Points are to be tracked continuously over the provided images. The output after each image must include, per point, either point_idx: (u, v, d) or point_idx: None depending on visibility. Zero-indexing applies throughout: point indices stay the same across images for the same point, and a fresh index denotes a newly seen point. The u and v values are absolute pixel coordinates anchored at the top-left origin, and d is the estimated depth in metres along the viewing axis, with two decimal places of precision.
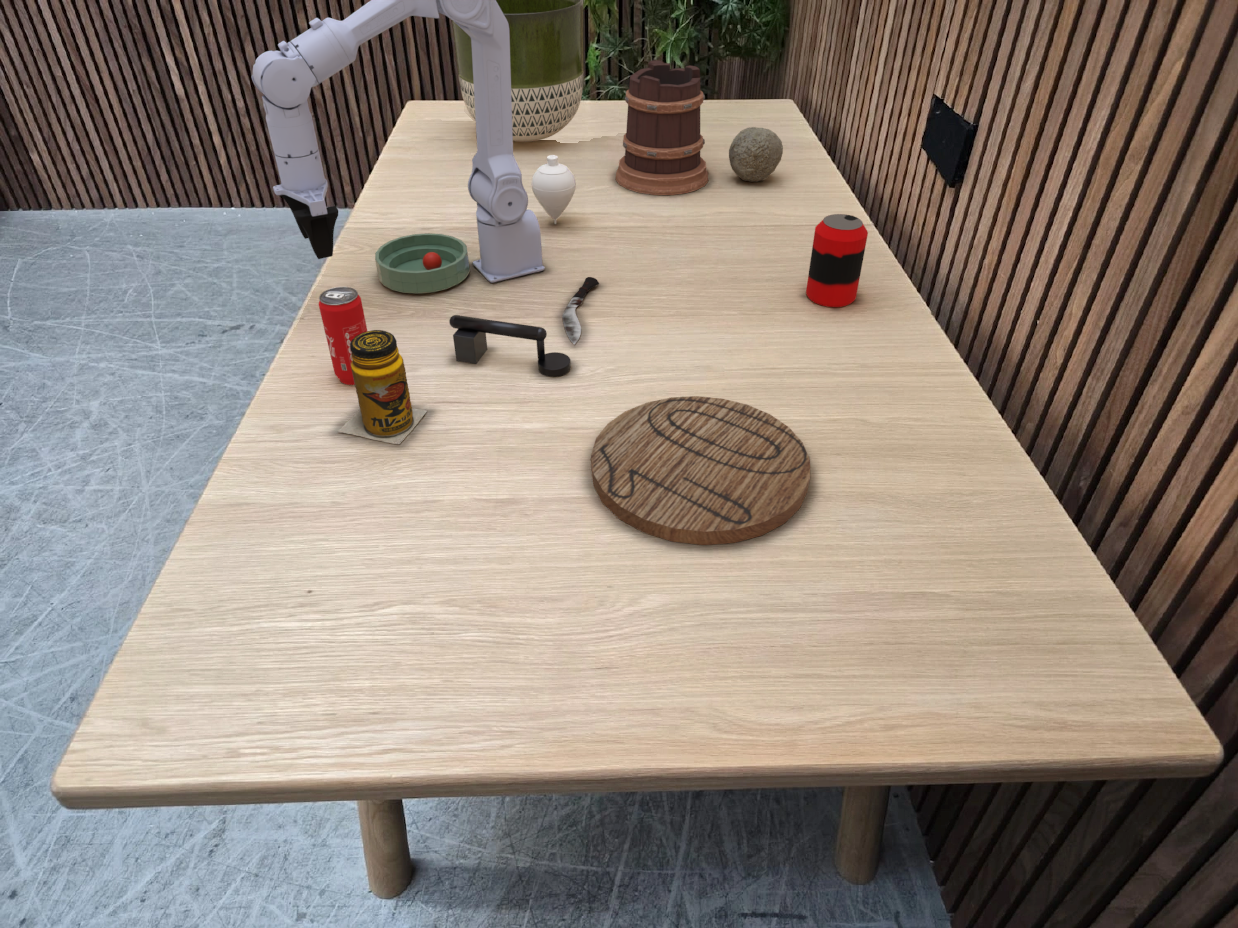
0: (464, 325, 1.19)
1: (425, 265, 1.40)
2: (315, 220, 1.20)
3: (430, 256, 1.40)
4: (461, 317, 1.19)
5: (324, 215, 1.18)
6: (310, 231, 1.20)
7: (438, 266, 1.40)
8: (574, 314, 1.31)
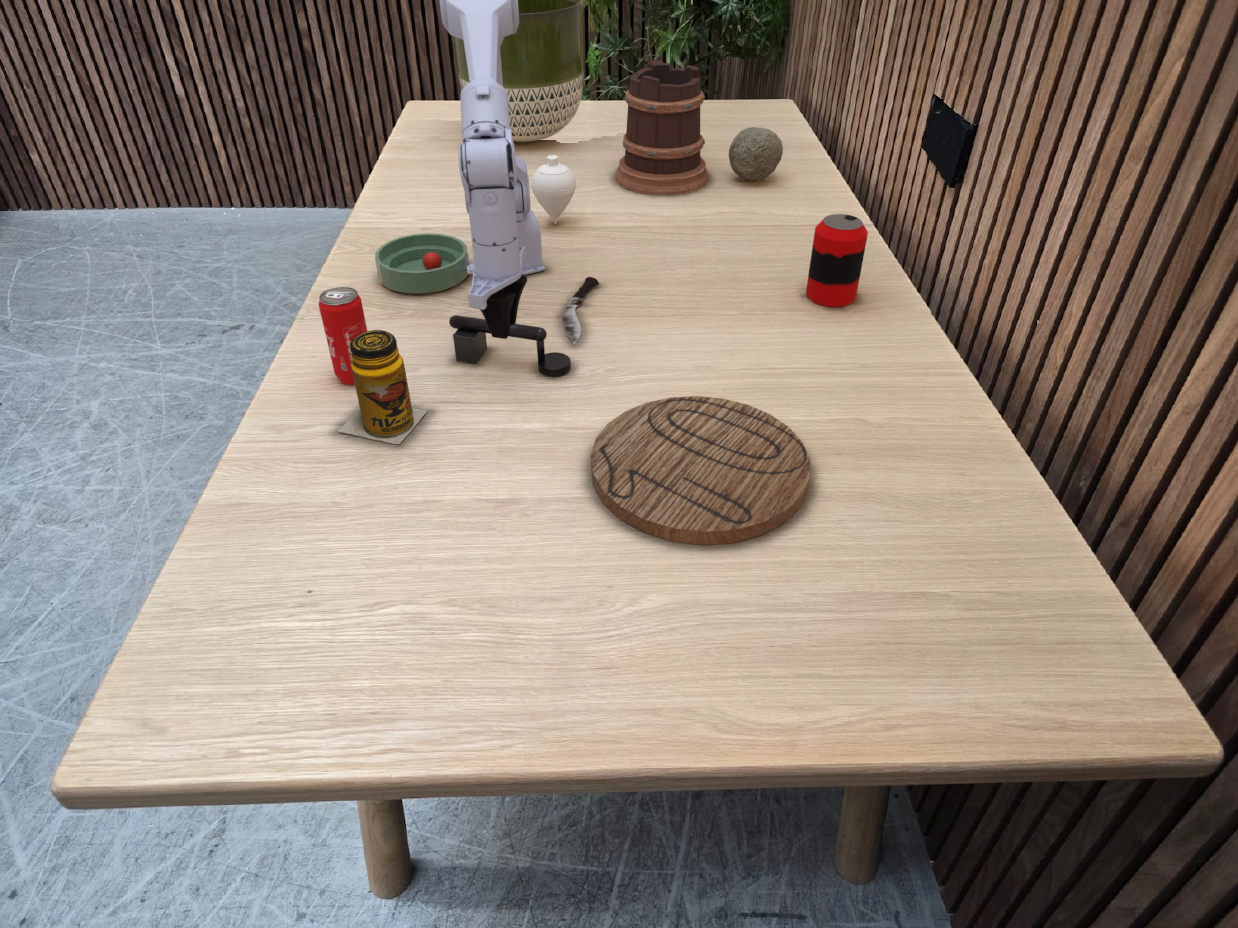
0: (464, 325, 1.19)
1: (425, 265, 1.40)
2: (493, 300, 1.14)
3: (430, 256, 1.40)
4: (461, 317, 1.19)
5: (494, 300, 1.12)
6: (483, 309, 1.14)
7: (438, 266, 1.40)
8: (574, 314, 1.31)
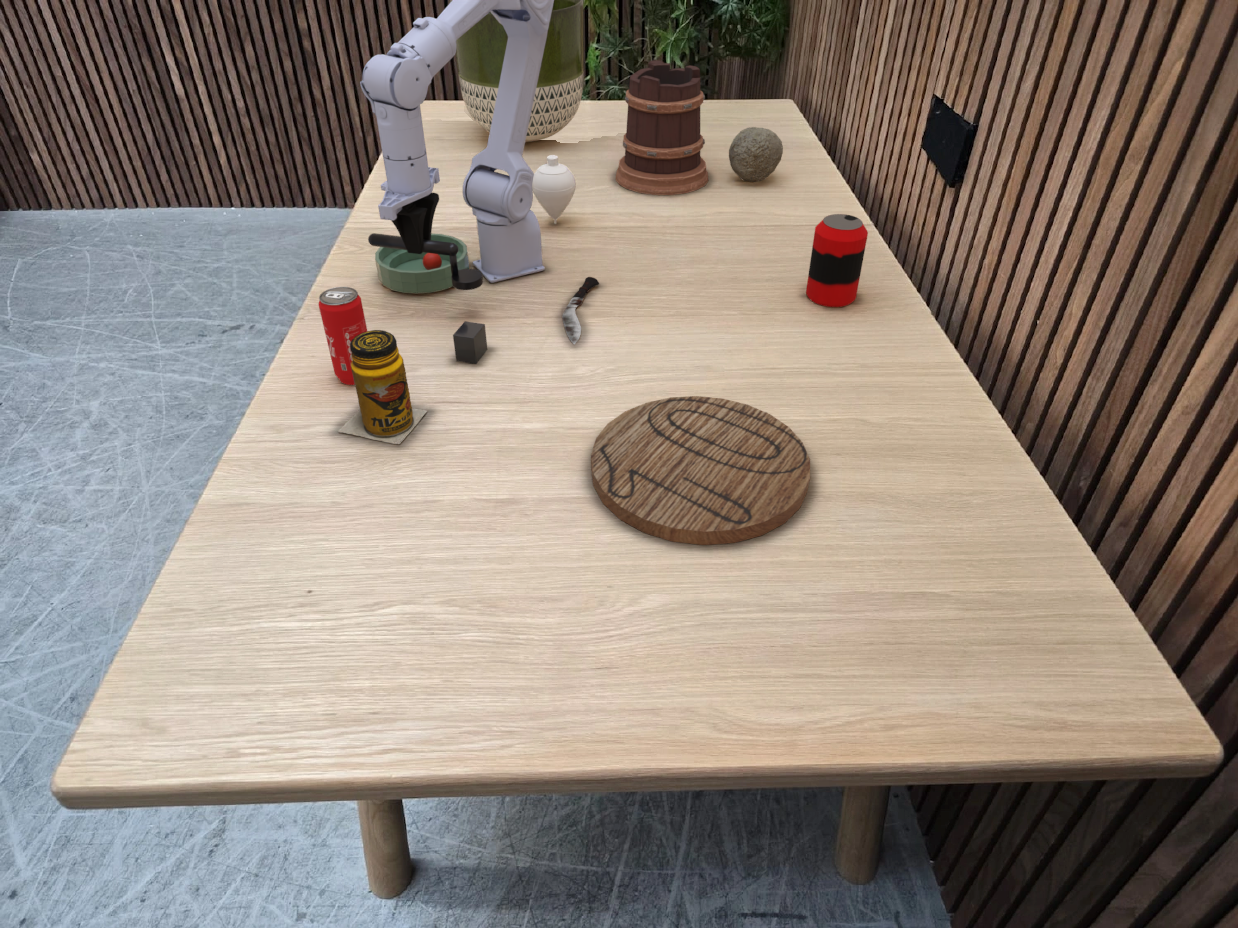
0: (382, 242, 1.26)
1: (425, 265, 1.40)
2: (406, 216, 1.22)
3: (430, 256, 1.40)
4: (379, 235, 1.27)
5: (405, 213, 1.19)
6: (397, 224, 1.22)
7: (438, 266, 1.40)
8: (574, 314, 1.31)
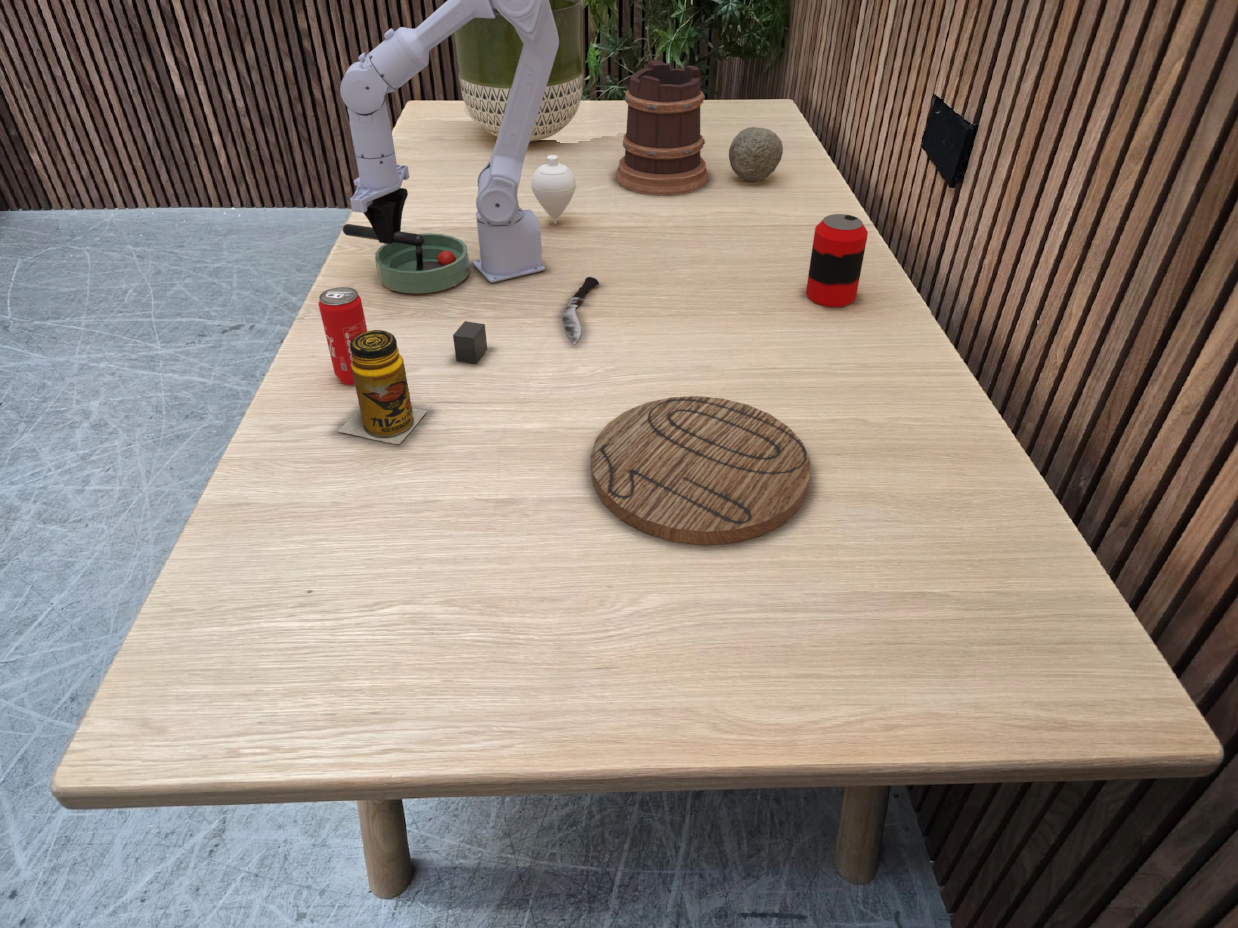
0: (355, 231, 1.38)
1: (445, 256, 1.40)
2: (377, 209, 1.34)
3: (454, 259, 1.41)
4: (353, 225, 1.39)
5: (375, 207, 1.32)
6: (368, 217, 1.34)
7: None
8: (574, 314, 1.31)
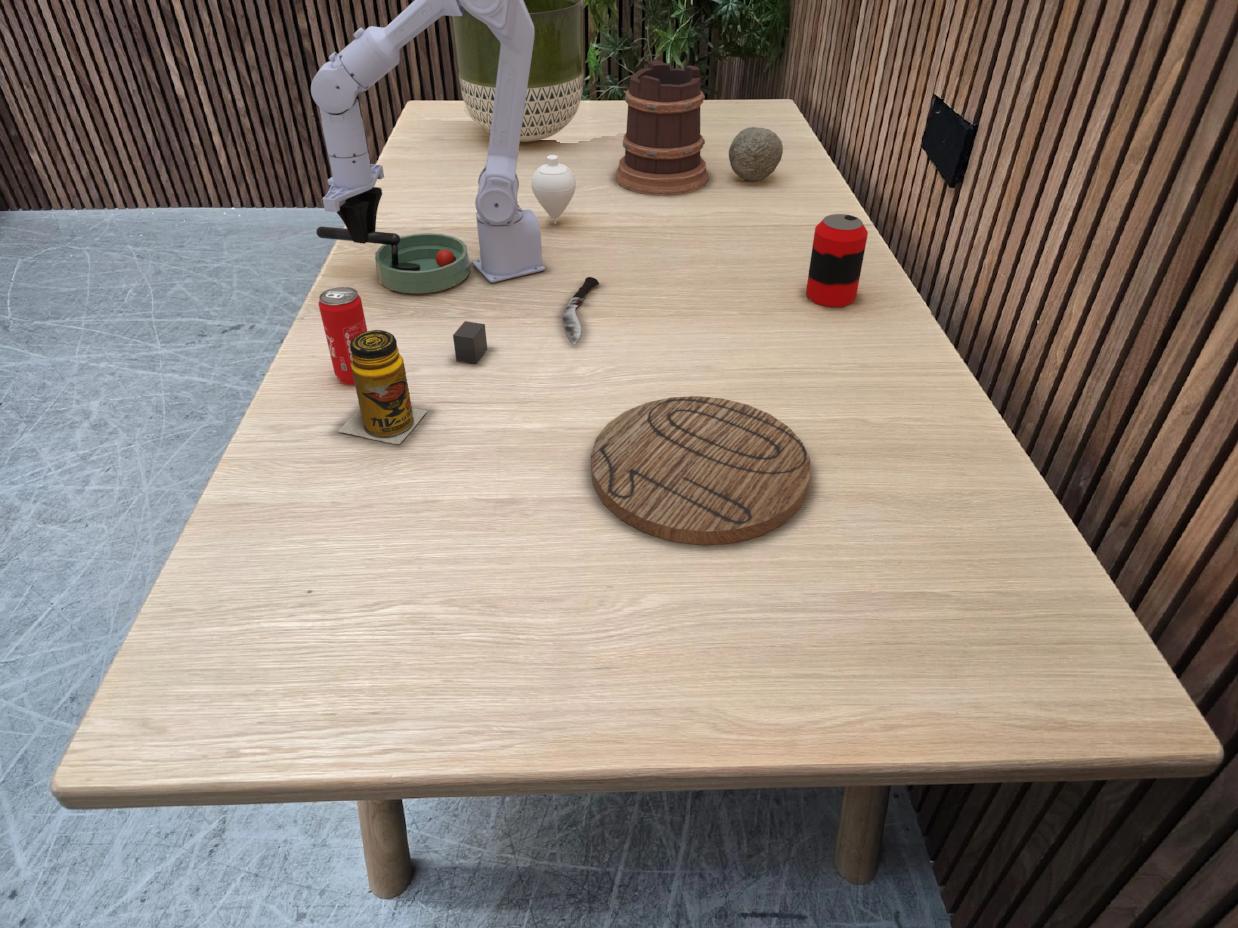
0: (329, 232, 1.38)
1: (442, 254, 1.40)
2: (350, 208, 1.34)
3: (452, 257, 1.41)
4: (327, 227, 1.39)
5: (348, 206, 1.32)
6: (342, 216, 1.34)
7: None
8: (574, 314, 1.31)
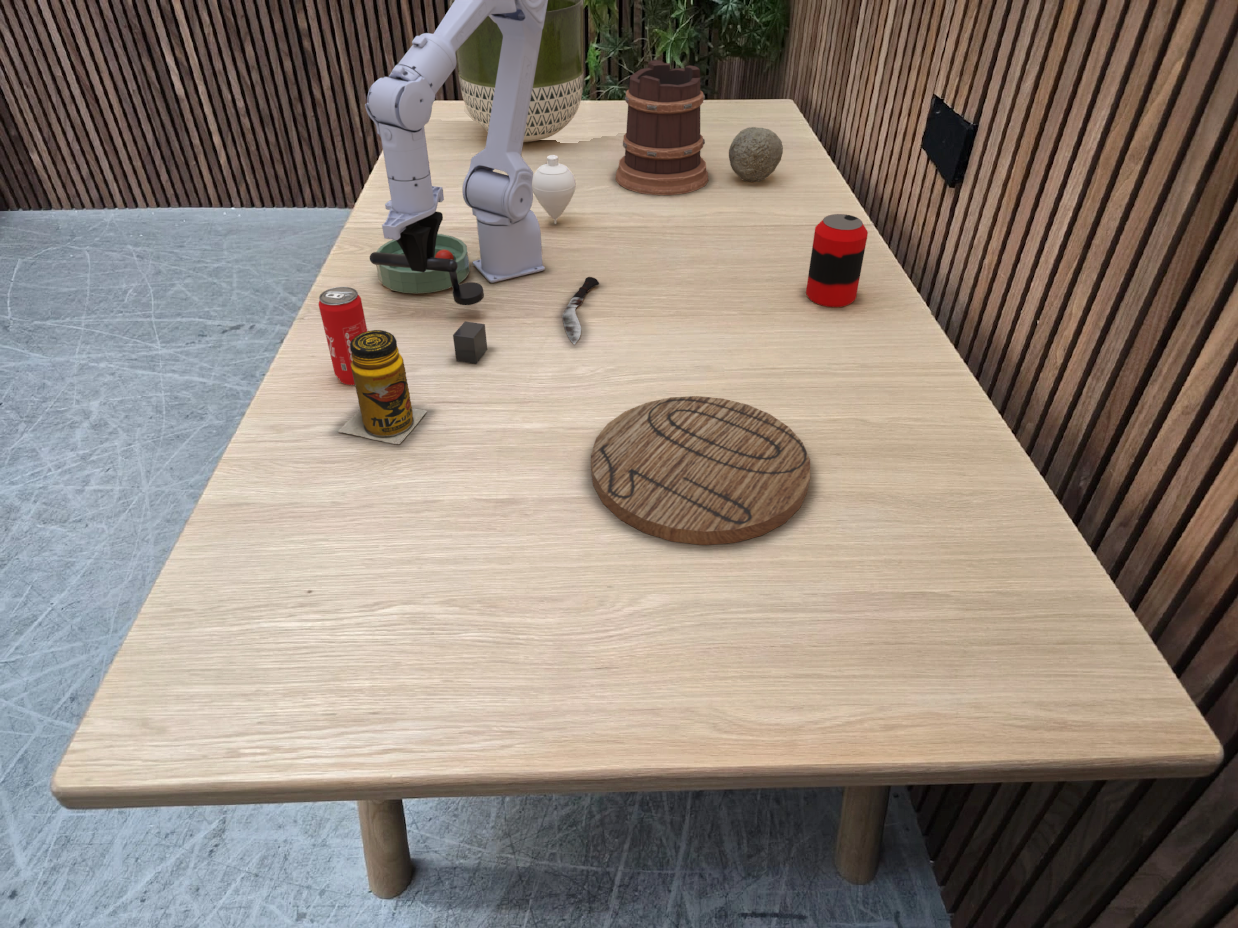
0: (383, 261, 1.28)
1: (440, 255, 1.40)
2: (410, 234, 1.23)
3: (450, 257, 1.41)
4: (379, 254, 1.28)
5: (409, 233, 1.21)
6: (401, 243, 1.23)
7: None
8: (574, 314, 1.31)
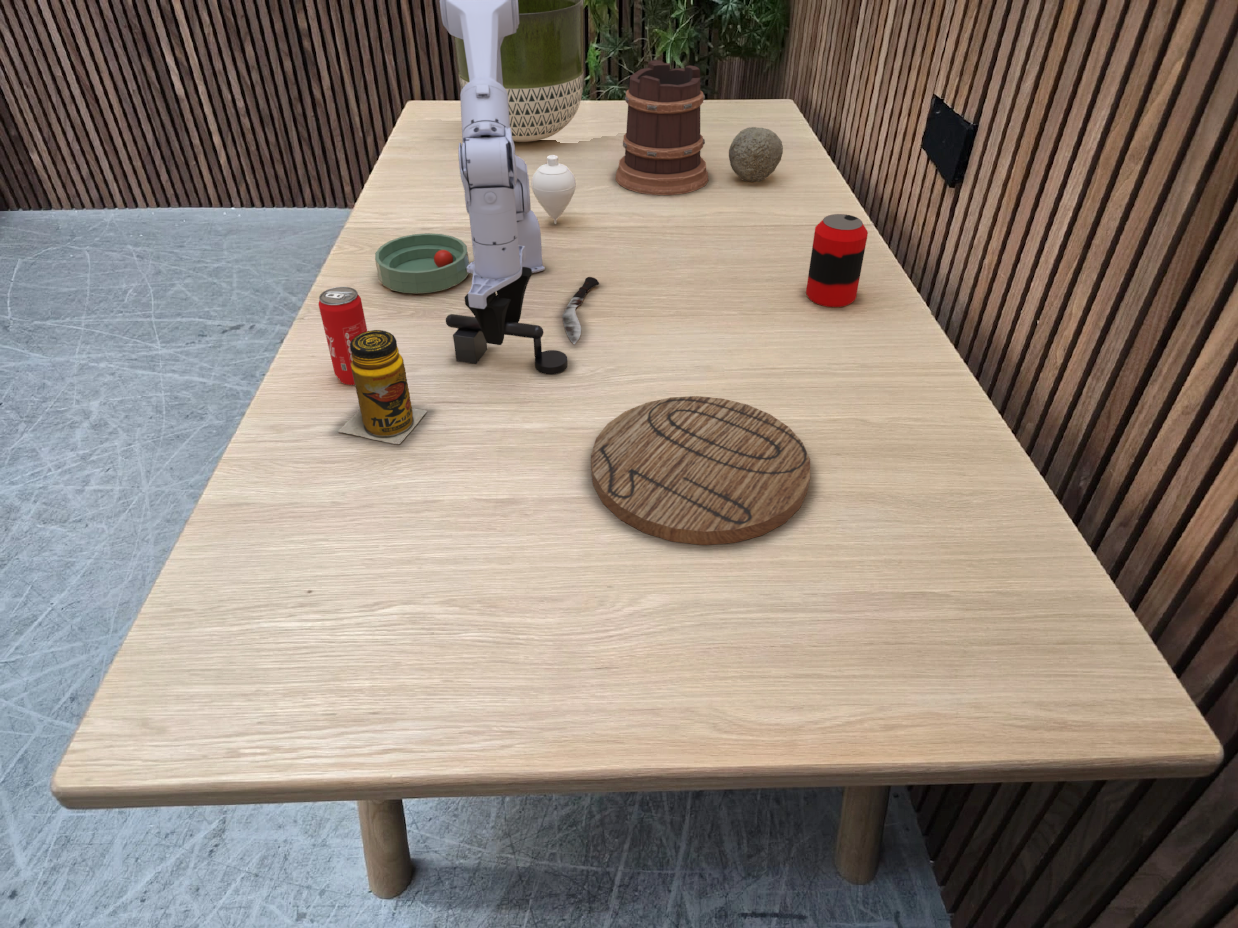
0: (461, 324, 1.19)
1: (439, 255, 1.40)
2: (487, 306, 1.13)
3: (449, 257, 1.41)
4: (457, 316, 1.19)
5: (488, 306, 1.10)
6: (477, 315, 1.13)
7: None
8: (574, 314, 1.31)
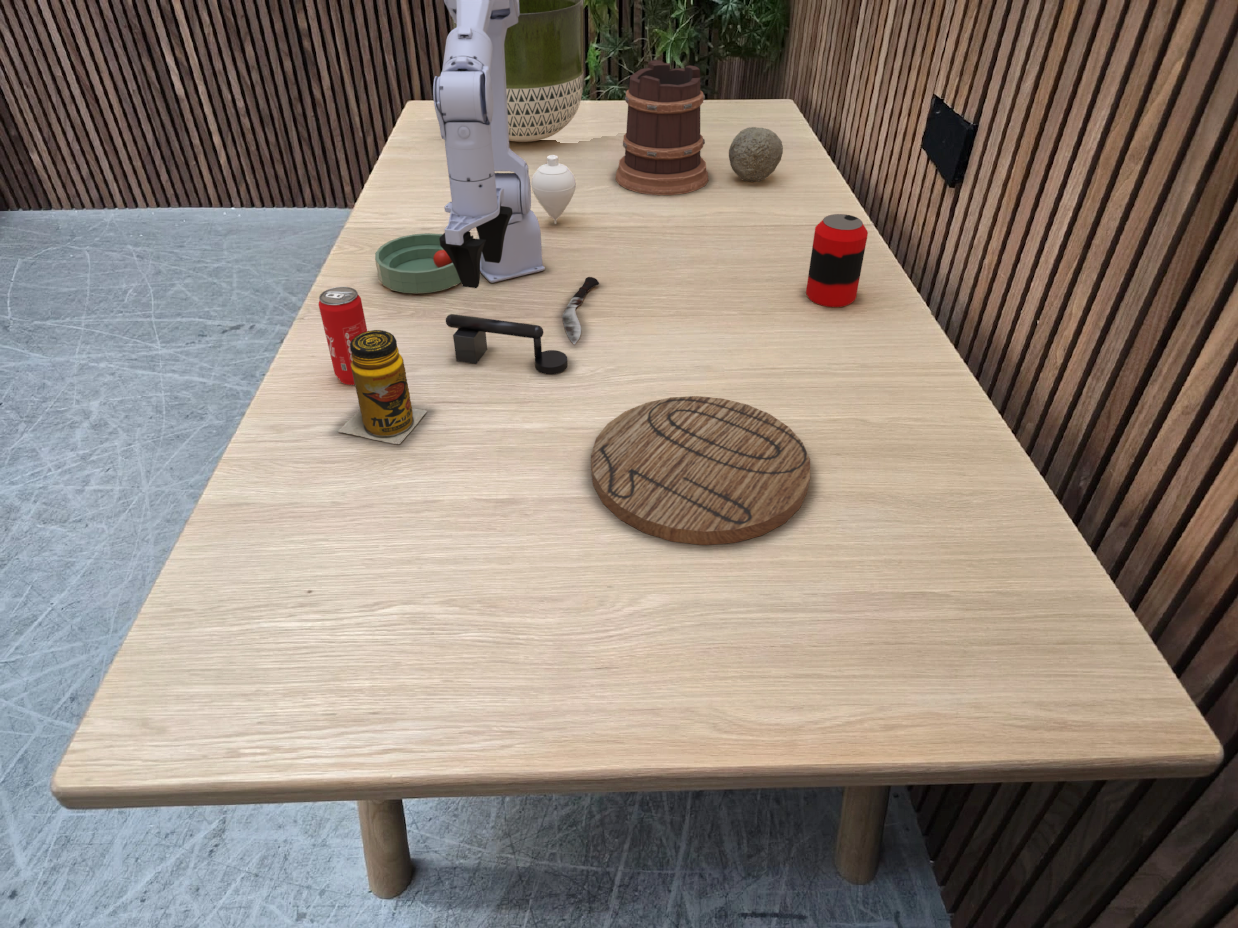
0: (461, 324, 1.19)
1: (438, 256, 1.40)
2: (462, 247, 1.12)
3: (448, 257, 1.41)
4: (457, 316, 1.19)
5: (463, 246, 1.10)
6: (452, 257, 1.13)
7: None
8: (574, 314, 1.31)
